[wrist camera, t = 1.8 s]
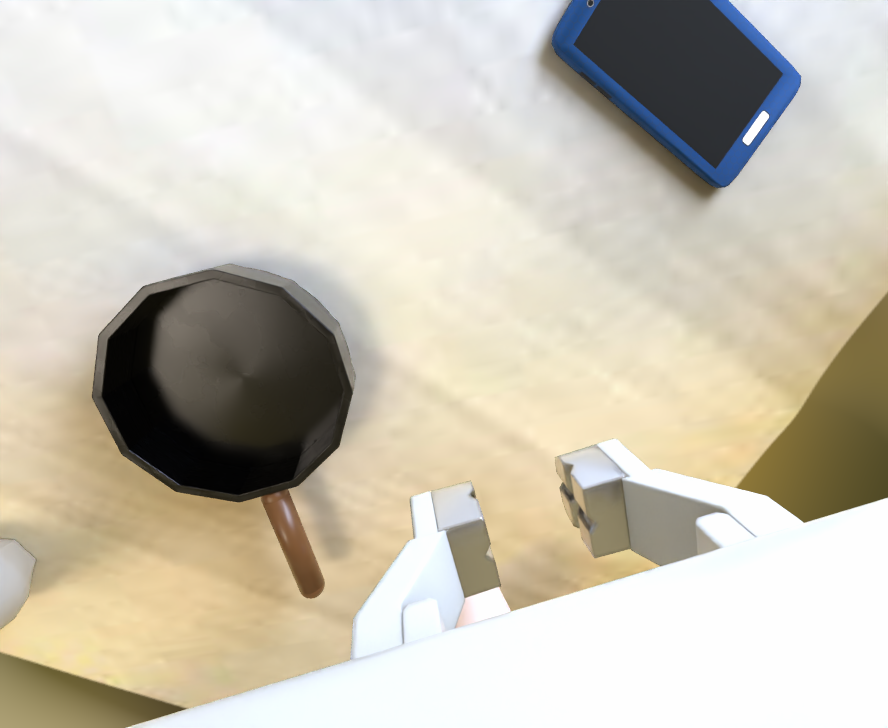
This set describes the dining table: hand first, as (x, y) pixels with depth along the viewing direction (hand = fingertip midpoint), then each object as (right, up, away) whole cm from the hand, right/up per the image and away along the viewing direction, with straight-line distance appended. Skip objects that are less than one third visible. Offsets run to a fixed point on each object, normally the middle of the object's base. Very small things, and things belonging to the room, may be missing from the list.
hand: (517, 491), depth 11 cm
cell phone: (+11, +20, +16) cm, 28 cm away
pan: (-13, -1, +19) cm, 23 cm away
